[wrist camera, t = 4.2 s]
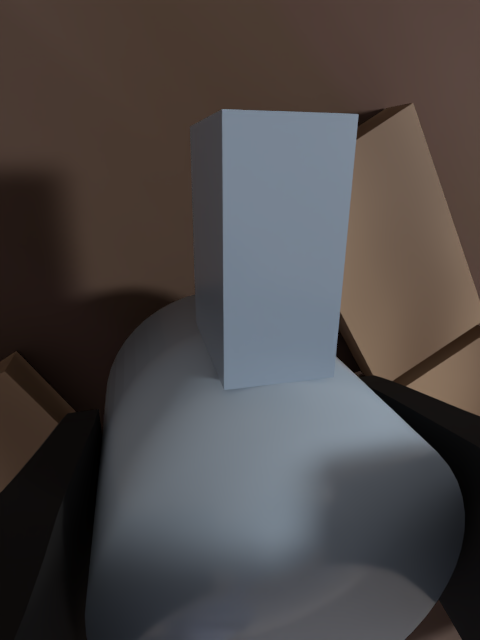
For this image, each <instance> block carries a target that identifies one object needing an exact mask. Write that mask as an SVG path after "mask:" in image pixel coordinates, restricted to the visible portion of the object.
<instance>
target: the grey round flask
mask: <svg viewBox="0 0 480 640" xmlns="http://www.w3.org/2000/svg"><path fill="white" fill-rule="evenodd" d="M358 116H359V114H343V113H315V112H286V111H257V110H228V109H222V110H220V111H218V112H216V113H214V114H212V115H211V116H209V117H207V118H205V119H203V120H201V121H199V122H198V123H196V124H194V125H192V126H190V142H191V174H192V206H193V238H194V270H195V295H192V296H188V297H185V298H182V299H180V300H177V301H175V302H172V303H170V304H169V305H167V306H165V307H163V308H161V309H159V310H158V311H156V312H155V313H154V314H152V315H151V316H150V317H148V318H147V319H145V320H144V321H143V322H142V323H141V324H140V325H139V326H138V327H137V328H136V329H135V330H134V331H133V332H132V333H131V335H130V336H129V337H128V338H127V340H126V341H125V342H124V344H123V345H122V347H121V349H120V350H119V352H118V353H117V355H116V358H115V360H114V362H113V365H112V367H111V370H110V374H109V377H108V381H107V390H106V399H105V410H104V420H103V430H102V441H101V451H100V462H99V472H98V482H97V493H96V503H95V514H94V524H93V535H92V545H91V555H90V566H89V576H88V587H87V597H86V607H85V626H86V637H87V640H405V639H406V638H407V637H408V636H409V635H410V634H411V633H412V632H413V631H414V630H415V628H416V627H417V626H418V625H419V624H420V623H421V622H422V620H423V619H424V618H425V617H426V616H427V614H428V613H429V612H430V610H431V609H432V608H433V606H434V605H435V603H436V602H437V601H438V599H439V598H440V596H441V594H442V592H443V591H444V589H445V587H446V586H447V584H448V582H449V580H450V578H451V575H452V573H453V571H454V569H455V567H456V564H457V561H458V558H459V554H460V551H461V548H462V542H463V537H464V530H465V511H464V503H463V497H462V494H461V491H460V487H459V484H458V481H457V479H456V478H455V476H454V474H453V472H452V470H451V469H450V467H449V465H448V464H447V463H446V462H445V461H444V459H443V458H442V457H441V456H440V455H439V453H438V452H437V451H436V450H435V449H434V448H432V447H431V446H430V445H429V444H428V443H427V442H426V441H425V440H424V439H423V438H422V437H421V436H420V435H419V434H418V433H417V432H416V431H415V430H413V429H412V428H411V427H410V426H409V425H408V424H407V423H406V422H405V421H404V420H403V419H402V418H401V417H400V416H399V415H398V414H397V413H396V412H394V411H393V410H392V409H391V408H390V407H389V406H388V405H387V404H386V403H385V402H384V401H383V400H382V399H381V398H380V397H379V396H378V395H376V394H375V393H374V392H373V391H372V390H371V389H370V388H369V387H368V386H367V385H366V384H365V383H364V382H363V381H362V380H361V379H360V378H359V377H357V376H356V375H355V374H354V373H353V372H352V371H351V370H350V369H349V368H348V367H347V366H346V365H345V364H344V363H343V362H342V361H341V360H340V359H338V358H337V357H336V349H337V339H338V328H339V317H340V307H341V296H342V286H343V275H344V264H345V254H346V243H347V232H348V222H349V211H350V201H351V190H352V179H353V169H354V158H355V148H356V137H357V126H358Z"/></svg>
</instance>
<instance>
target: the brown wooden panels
mask: <svg viewBox="0 0 480 640" xmlns="http://www.w3.org/2000/svg"><path fill="white" fill-rule="evenodd" d="M479 323H480V300H479V297H478V294H477V291H476V288H475V285H474V282H473V279H472V276H471V273H470V270H469V268H468V265H467V262H466V259H465V256H464V253H463V250H462V247H461V244H460V241H459V238H458V235H457V232H456V229H455V226H454V223H453V220H452V217H451V214H450V211H449V208H448V205H447V202H446V199H445V196H444V193H443V190H442V187H441V184H440V181H439V178H438V175H437V172H436V169H435V167H434V164H433V161H432V158H431V155H430V152H429V149H428V146H427V143H426V140H425V137H424V134H423V131H422V128H421V125H420V122H419V119H418V116H417V113H416V110H415V107H414V104H413V103H410V104H405V105H400V106H394V107H389V108H386V109H384V110H383V111H381V112H380V113H378V114H377V115H375V116H374V117H372V118H371V119H369V120H367V121H366V122H364V123H363V124H361V125H360V126H358V127H357V137H356V148H355V158H354V169H353V179H352V190H351V201H350V211H349V222H348V232H347V243H346V254H345V264H344V275H343V286H342V296H341V307H340V317H339V328H338V329H339V330H340V332H341V334H342V336H343V338H344V340H345V342H346V344H347V346H348V347H349V349H350V351H351V353H352V355H353V357H354V359H355V361H356V362H357V364H358V366H359V368H360V370H361V372H362V373H363V374H365V375H366V376H371V375H375V376H378V377H382V378H385V379H388V380H391V381H393V382H396V383H399V384H401V385H404V386H406V387H409V388H411V389H414V390H416V391H419V392H421V393H423V394H426V395H428V396H431V397H433V398H436V399H438V400H441V401H443V402H445V403H448V404H450V405H453V406H455V407H458V408H460V409H463V410H465V411H468V412H470V413H473V414H475V415H478V416H480V326H479V325H477V324H479ZM73 412H76V411H75V410H74V409H73V408H72V407H71V406H70V405H69V404H68V403H67V402H66V401H65V400H64V399H63V398H62V397H61V396H60V395H59V394H58V393H57V392H56V391H55V390H54V389H53V388H52V387H51V386H50V385H49V384H48V383H47V382H46V381H45V380H44V379H43V378H42V377H41V376H40V375H39V373H38V372H37V371H36V370H35V369H34V368H33V367H32V366H31V365H30V364H29V363H28V362H27V361H26V360H25V359H24V358H23V357H22V356H21V355H20V354H19V353H18V352H17V351H16V352H14V353H13V354H11V355H10V356H8V357H6V358H5V359H3V360H2V361H0V492H1V491H2V490H3V489H4V488H5V487H6V486H7V485H8V484H9V483H10V482H11V480H12V479H13V478H14V477H15V476H16V475H17V473H18V472H19V471H20V470H21V469H22V468H23V466H24V465H25V464H26V463H27V462H28V461H29V459H30V458H31V457H32V456H33V455H34V453H35V452H36V451H37V450H38V449H39V447H40V446H41V445H42V444H43V442H44V441H45V440H46V439H47V437H48V436H49V435H50V434H51V432H52V431H53V430H54V429H55V427H56V426H57V425H58V424H59V422H60V421H61V420H62V419H63V418H64V417H65V415H66V414H67V413H73Z"/></svg>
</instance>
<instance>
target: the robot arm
mask: <svg viewBox="0 0 480 640" xmlns="http://www.w3.org/2000/svg"><path fill="white" fill-rule="evenodd" d="M359 378H360V379H361V380H362V381H363V382H364V383H365V384H366V385H367V386H368V387H369V388H370V389H371V390H372V391H373V392H374V393H375V394H376V395H378V396H379V397H380V398H381V399H382V400H383V401H384V402H385V403H386V404H387V405H388V406H389V407H390V408H391V409H392V410H393V411H394V412H396V413H397V414H398V415H399V416H400V417H401V418H402V419H403V420H404V421H405V422H406V423H407V424H408V425H409V426H410V427H411V428H412V429H413V430H415V431H416V432H417V433H418V434H419V435H420V436H421V437H422V438H423V439H424V440H425V441H426V442H427V443H428V444H429V445H430V446H431V447H432V448H434V449H435V450H436V451H437V452H438V453H439V455H440V456H441V457H442V458H443V459H444V461H445V462H446V463H447V464H448V465H449V467H450V469H451V470H452V472H453V474H454V476H455V478H456V479H457V481H458V484H459V487H460V491H461V494H462V497H463V503H464V511H465V530H464V537H463V542H462V548H461V551H460V554H459V558H458V561H457V564H456V567H455V569H454V571H453V573H452V575H451V578H450V580H449V582H448V584H447V586H446V587H445V589H444V591H443V592H442V594H441V596H440V598H439V600H440V602H441V604H442V605H443V607H444V609H445V611H446V612H447V614H448V616H449V618H450V619H451V621H452V623H453V625H454V626H455V628H456V630H457V631H458V633H459V635H460V637H461V638H462V640H480V416H478V415H475V414H473V413H470V412H468V411H465V410H463V409H460V408H458V407H455V406H453V405H450V404H448V403H445V402H443V401H441V400H438V399H436V398H433V397H431V396H428V395H426V394H423V393H421V392H419V391H416V390H414V389H411V388H409V387H406V386H404V385H401V384H399V383H396V382H393V381H391V380H388V379H385V378H382V377H378V376H375V375H371V376H363V377H359ZM101 441H102V431H101V424H100V417H99V409H98V410H90V411H82V412H73V413H67V414H66V415H65V417H64V418H63V419H62V420H61V421H60V422H59V424H58V425H57V426H56V427H55V429H54V430H53V431H52V432H51V434H50V435H49V436H48V437H47V439H46V440H45V441H44V442H43V444H42V445H41V446H40V447H39V449H38V450H37V451H36V452H35V453H34V455H33V456H32V457H31V458H30V459H29V461H28V462H27V463H26V464H25V465H24V466H23V468H22V469H21V470H20V471H19V472H18V473H17V475H16V476H15V477H14V478H13V479H12V480H11V482H10V483H9V484H8V485H7V486H6V487H5V488H4V489H3V490H2V491H1V492H0V640H87V637H86V626H85V607H86V597H87V587H88V576H89V566H90V555H91V545H92V535H93V524H94V514H95V503H96V493H97V482H98V472H99V462H100V451H101Z"/></svg>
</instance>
